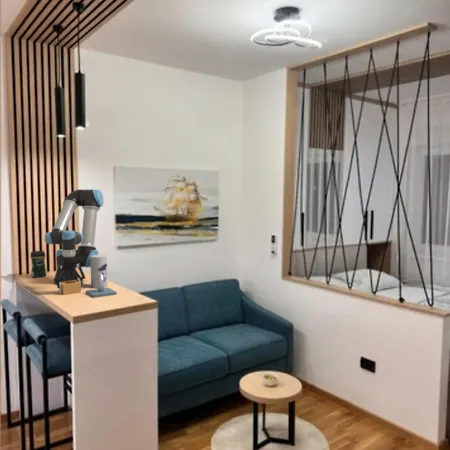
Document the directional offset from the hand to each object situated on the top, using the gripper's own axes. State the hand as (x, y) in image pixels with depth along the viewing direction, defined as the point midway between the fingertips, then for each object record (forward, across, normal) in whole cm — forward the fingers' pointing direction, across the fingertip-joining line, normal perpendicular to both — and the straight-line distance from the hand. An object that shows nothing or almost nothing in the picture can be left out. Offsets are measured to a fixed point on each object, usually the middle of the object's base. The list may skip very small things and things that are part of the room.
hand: (70, 291), depth 260 cm
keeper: (0, +14, -15) cm, 20 cm away
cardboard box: (0, 0, 0) cm, 0 cm away
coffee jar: (0, -5, +59) cm, 59 cm away
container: (0, +20, +5) cm, 21 cm away
